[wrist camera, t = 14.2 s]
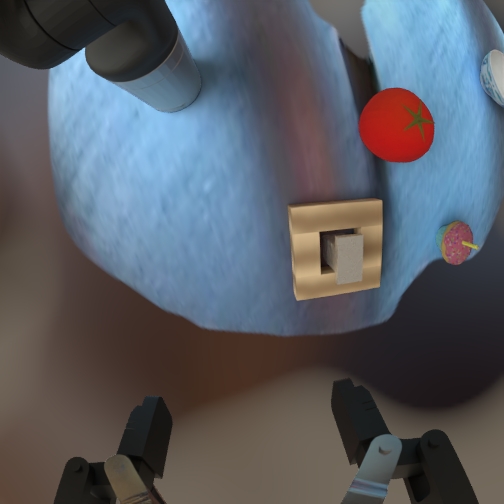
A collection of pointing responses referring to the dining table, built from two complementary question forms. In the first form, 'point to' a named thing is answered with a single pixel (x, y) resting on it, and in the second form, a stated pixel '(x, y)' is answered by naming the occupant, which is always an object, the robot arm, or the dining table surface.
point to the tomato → (396, 126)
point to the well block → (308, 244)
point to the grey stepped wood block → (344, 256)
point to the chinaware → (493, 76)
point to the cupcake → (455, 242)
